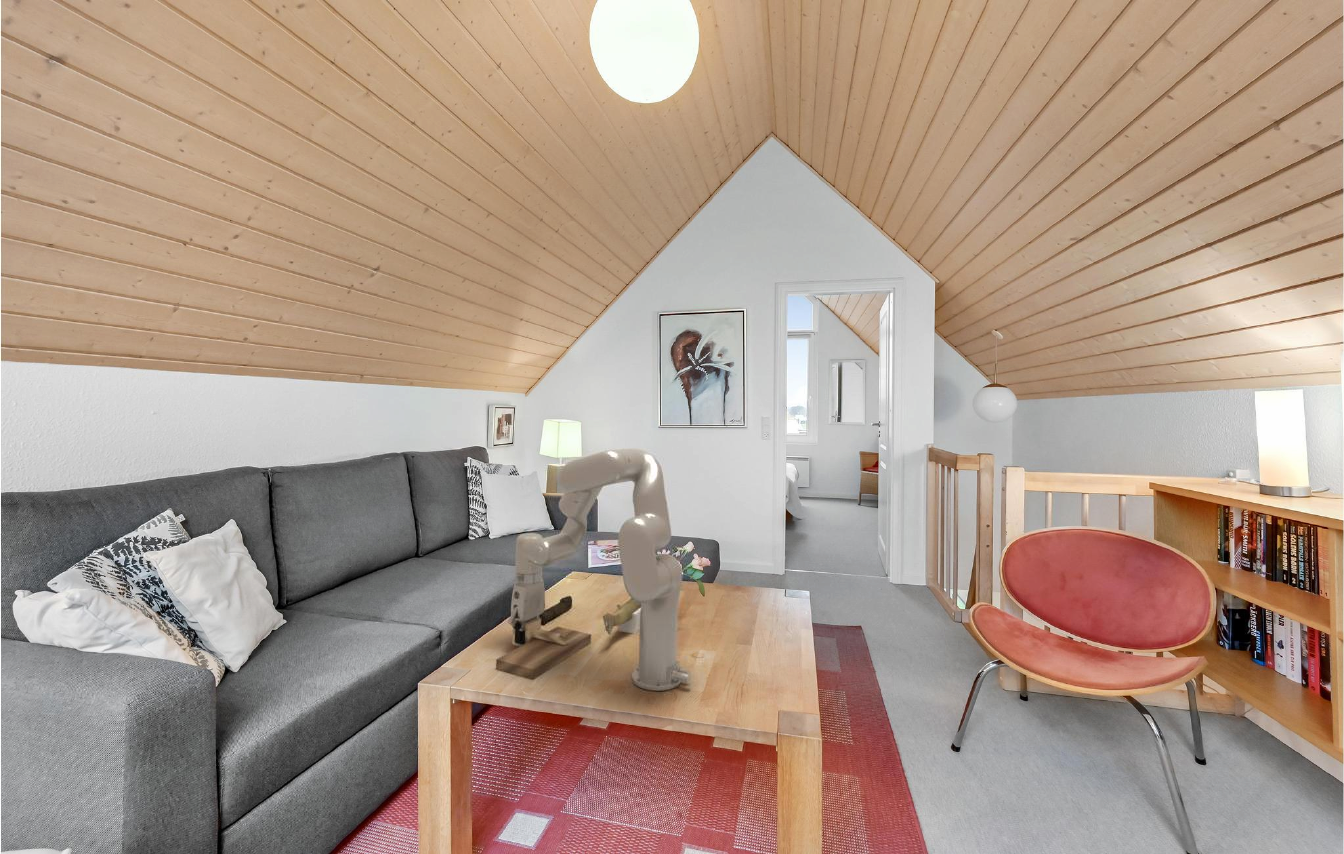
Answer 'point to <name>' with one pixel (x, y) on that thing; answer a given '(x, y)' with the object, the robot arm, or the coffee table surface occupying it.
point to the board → (541, 654)
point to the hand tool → (556, 609)
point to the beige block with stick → (540, 633)
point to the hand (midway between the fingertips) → (526, 639)
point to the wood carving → (624, 618)
